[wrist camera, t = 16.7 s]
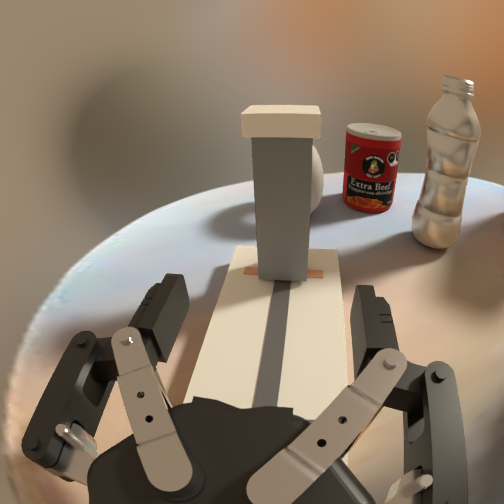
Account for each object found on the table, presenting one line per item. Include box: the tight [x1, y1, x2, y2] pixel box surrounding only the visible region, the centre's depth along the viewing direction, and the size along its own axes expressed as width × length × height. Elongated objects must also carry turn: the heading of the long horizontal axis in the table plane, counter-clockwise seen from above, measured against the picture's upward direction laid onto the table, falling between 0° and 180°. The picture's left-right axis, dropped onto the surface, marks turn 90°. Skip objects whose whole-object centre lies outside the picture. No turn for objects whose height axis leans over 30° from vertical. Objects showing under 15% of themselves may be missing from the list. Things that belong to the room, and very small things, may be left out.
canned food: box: [342, 123, 401, 213], centre depth 40 cm, size 8×8×11 cm
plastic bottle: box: [412, 75, 481, 249], centre depth 28 cm, size 6×7×20 cm
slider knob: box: [241, 105, 321, 281], centre depth 23 cm, size 5×4×14 cm
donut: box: [310, 146, 324, 213], centre depth 38 cm, size 10×4×10 cm, turn 12°
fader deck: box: [183, 245, 348, 467], centre depth 22 cm, size 10×22×2 cm, turn 171°
